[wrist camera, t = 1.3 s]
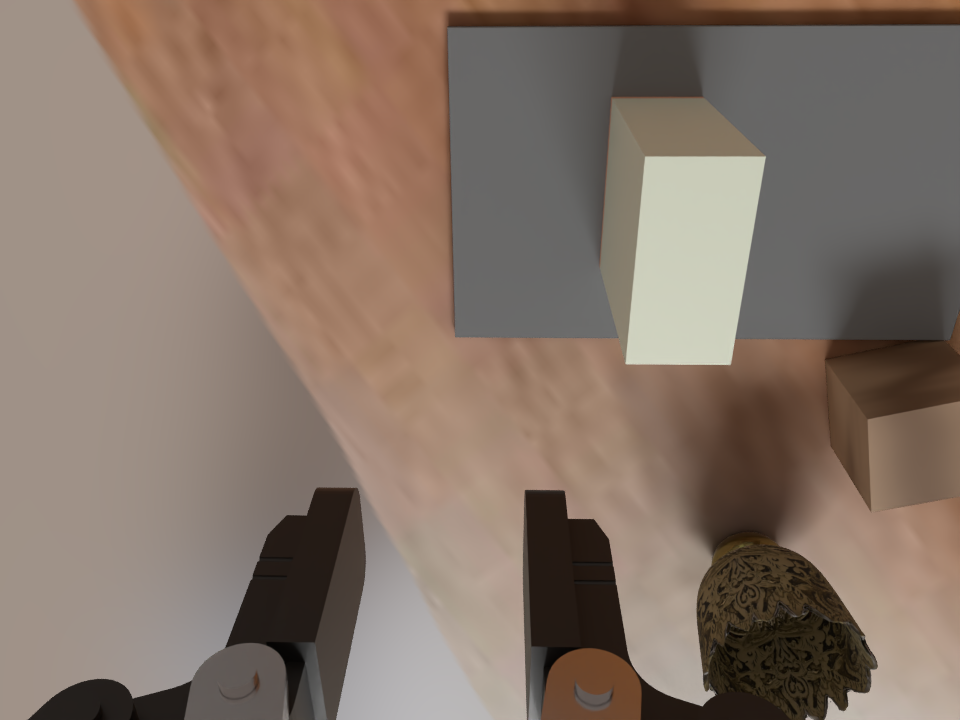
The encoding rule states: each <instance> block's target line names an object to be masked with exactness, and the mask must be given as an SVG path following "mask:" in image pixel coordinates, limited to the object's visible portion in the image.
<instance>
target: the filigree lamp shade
mask: <svg viewBox="0 0 960 720" xmlns="http://www.w3.org/2000/svg"><path fill="white" fill-rule="evenodd" d="M697 626H698V635H699V643H700V652H701V660H702V668H703V682H704V688H705V691H708V690H709V688H710V690H711V691H713V692H714V693H715V695H719V694H722V693H726V692H744V693H749V694H753V695H756V696H759V697H761V698H763V699H765V700H767V701H769V702H771V703H772V704H774V705H775V706H777V707H778V708H779V709H780V710H782V711H783V712H784V713H785V714H786V715H787V716H788V718H789V719H790V720H805V718H807V715H808V717H810V718H811V719H814V720H824V719H825V717H826V714H827V709H828V697H829V698H831V699H832V700H833V702H834V703H835V704H836V705H837V706H838V708H839V710H841V711H845V710H846V708H847V707H848V697H847V692H849V691H848V690H853V692H858V693H868V692H869V691H870V687H871V671H870V669H873V670H875V669H877V667H878V665H877V661H876V658H875V656H874V655H873V653H872V652H871V651H870V649H869V647H868V645H867V643H866V641H865V635H864V633H863V632H862V631H861V629H860V628H859V626H858V625H857V623H856V622H855V620H854V619H853V617H852V616H851V614H850V613H849V611H848V610H847V608H846V607H845V605H844V604H843V602H842V601H841V599H840V598H839V596H838V595H837V593H836V592H835V590H834V589H833V588H832V586H831V585H830V584H829V582H828V581H827V580H826V578H825V577H824V576H823V575H822V573H821V572H820V571H819V570H818V569H817V568H816V567H815V566H814V565H813V564H812V563H811V562H809V561H808V560H807V559H805V558H804V557H803V556H801V555H799V554H798V553H796V552H794V551H791V550H789V549H787V548H783V547H780V546H779V545H778V544H777V543H776V542H775V541H773V540H772V539H771V538H769V537H767V536H766V535H763V534H761V533H757V532H741V533H737V534H734V535H731V536H729V537H728V538H726V539H725V540H723V541H722V542H721V543H720V544H719V545H718V546H717V548H716V550H715V552H714V554H713V558H712V565H711V567H710V568H709V570H708V571H707V573H706V574H705V576H704V578H703V580H702V582H701V585H700V588H699V591H698V597H697ZM830 702H831V701H830Z"/></svg>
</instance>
